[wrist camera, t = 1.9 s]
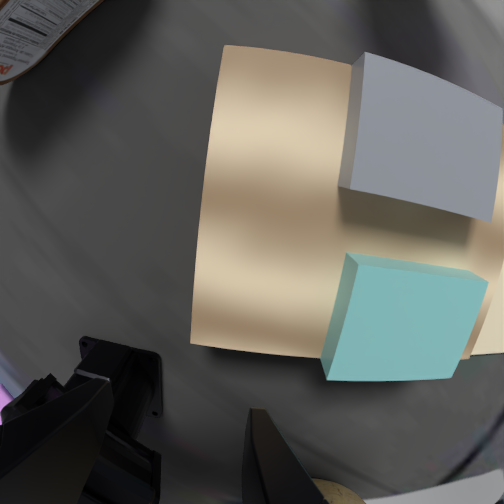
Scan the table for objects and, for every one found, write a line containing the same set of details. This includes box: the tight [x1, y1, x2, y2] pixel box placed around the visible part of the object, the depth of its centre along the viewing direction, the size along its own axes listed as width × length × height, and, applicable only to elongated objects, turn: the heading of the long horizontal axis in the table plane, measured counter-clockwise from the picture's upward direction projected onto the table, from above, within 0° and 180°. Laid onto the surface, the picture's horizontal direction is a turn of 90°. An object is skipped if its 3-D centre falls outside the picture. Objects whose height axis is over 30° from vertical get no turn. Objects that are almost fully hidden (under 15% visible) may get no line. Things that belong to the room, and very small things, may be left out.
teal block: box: [320, 252, 489, 381], centre depth 14 cm, size 6×8×2 cm
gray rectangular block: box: [337, 52, 503, 223], centre depth 12 cm, size 6×8×2 cm
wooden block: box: [190, 45, 504, 359], centre depth 16 cm, size 15×18×4 cm
